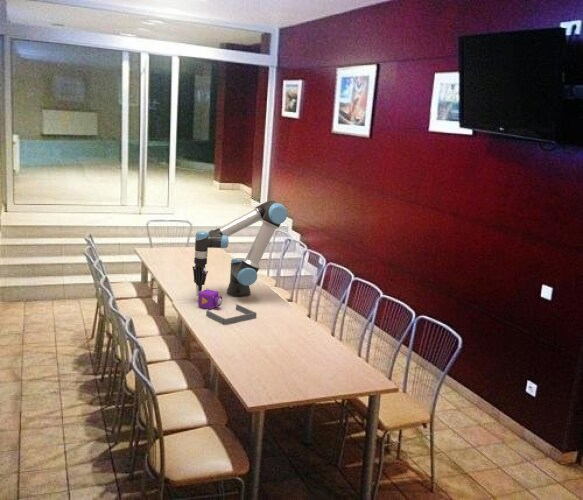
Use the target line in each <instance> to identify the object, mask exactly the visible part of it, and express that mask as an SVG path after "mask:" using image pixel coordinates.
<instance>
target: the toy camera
mask: <svg viewBox="0 0 583 500" xmlns="http://www.w3.org/2000/svg"><path fill="white" fill-rule="evenodd" d="M197 297H198V300H197V301H198V302H197V304H198V307H199V308H203V309H205V310H207V309H208V310H212V309H215V308H216V307H218V308H219V307H221V306H222V303H223V297H222V295H220V294H219V291H217V290H213V289H209V288H206V289H204V290H203V289H202V291H201V292H199V296H197Z"/></svg>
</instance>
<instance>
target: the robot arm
mask: <svg viewBox="0 0 583 500" xmlns="http://www.w3.org/2000/svg"><path fill="white" fill-rule="evenodd" d="M287 217H288V210H287V208H286V207H285V206H284V205H283V204H281V203H280V202H277V201H275V200H267V201H265V202H262V203H261V204H259V205H256V206H255V207H254V209H253V210H251V211H249V212H247V213H245V214H243V215H242V216H239V217H237V218H235V219H233V220H231V221H230V222H228V223H225V224H224V225H222V226H220V227H218V228H216V229H210V230H209V231H206V230H205V231H204V230H200V231H196V232H195V239H194V259H193V263H194V264H195V265H194V266H191V267H192V273H193V282H194V284H195V291H196V292H195V296H197V297H198V296H199V292H201V291H203V289H202V288H203V286H204V285H205V283H206V280H207V276H208V272H209V270H206V265H207V264H208V250H209V249H227V248H228V247H229V237H230V236H232V235H235V234H236V233H238V232H240V231H242V230H244V229H246V228H248V227H250V226H252V225H253V224H256V223H258V222H262V224H261V226H260V228H259V230H258V233H257V235H256V236H255V238H254V239H253V243H252V245H251V246H250V249H249V251H248V253H247V255H246V257H245V258H242V257H241V258H240V257H237V258H232V259H231V261H230V273H229V274H230V275H229V276H230V277H229V283H228V286H227V289H226V294H227V295H228V296H231V297H236V298H237V297H238V298H245V297H249V296H250V295H251V288H250V286H251V285H254V284H255V283H256V281H257V280H258V271H259V269H260V266H259V264H260V262H261V260H262V258H263V256H264V253H265V251H266V249H267V248H268V246H269V243H270V241H271V239H272V237H273V235H274V233H275V231H276V230H277V229H279V228H280V226H281V225H282V224H283V223H284V222H285V221H286V220H287Z"/></svg>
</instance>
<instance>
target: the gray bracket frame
mask: <svg viewBox="0 0 583 500" xmlns="http://www.w3.org/2000/svg"><path fill="white" fill-rule="evenodd" d="M235 310H236V311H238V312H240V313H243V314H241V315H237V316H236V315H235V316H232V317H231V316H230V317H227V318H225V317H223V316H221V315H218V314H217V313H214V312H212V311H210V309H205V316H206V317H207V318H210V319H212V320H213V321H216V322H217V323H219V324H221V325H224V326H226V325H229V324H235V323H239V322H244V321H249V320H252V319H257V312H256V311H254V310H251V309H249V308H247V307H244V306H242V305H240V304H239V303H235Z"/></svg>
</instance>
